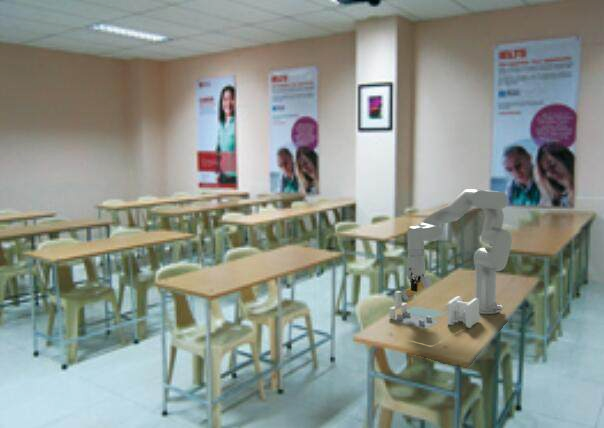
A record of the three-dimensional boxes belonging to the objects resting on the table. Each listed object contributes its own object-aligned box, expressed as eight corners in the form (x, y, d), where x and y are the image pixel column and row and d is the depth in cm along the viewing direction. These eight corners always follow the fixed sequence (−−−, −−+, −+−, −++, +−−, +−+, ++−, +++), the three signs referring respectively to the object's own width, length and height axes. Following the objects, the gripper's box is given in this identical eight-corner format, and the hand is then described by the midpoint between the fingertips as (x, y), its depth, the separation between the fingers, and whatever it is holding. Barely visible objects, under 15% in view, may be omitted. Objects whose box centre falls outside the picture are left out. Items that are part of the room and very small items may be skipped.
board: (440, 322, 241) (440, 316, 240) (425, 329, 232) (425, 323, 231) (404, 314, 255) (404, 308, 255) (389, 320, 246) (389, 315, 246)
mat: (446, 314, 252) (446, 313, 252) (433, 320, 244) (433, 319, 244) (415, 307, 265) (414, 306, 265) (401, 313, 257) (401, 311, 257)
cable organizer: (468, 330, 228) (468, 305, 227) (445, 326, 235) (445, 302, 233) (479, 321, 240) (479, 297, 239) (457, 317, 247) (457, 294, 245)
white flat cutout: (407, 313, 253) (407, 289, 251) (393, 319, 245) (393, 294, 243) (403, 312, 255) (402, 288, 253) (389, 318, 246) (389, 294, 245)
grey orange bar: (432, 284, 240) (428, 276, 242) (427, 284, 237) (423, 276, 239) (409, 299, 249) (405, 291, 251) (404, 300, 246) (400, 292, 248)
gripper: (418, 248, 251) (419, 284, 253) (399, 254, 239) (400, 292, 241) (432, 249, 245) (432, 287, 248) (413, 256, 233) (414, 295, 236)
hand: (416, 289), depth 244 cm, fingers closed on grey orange bar, 4 cm apart
